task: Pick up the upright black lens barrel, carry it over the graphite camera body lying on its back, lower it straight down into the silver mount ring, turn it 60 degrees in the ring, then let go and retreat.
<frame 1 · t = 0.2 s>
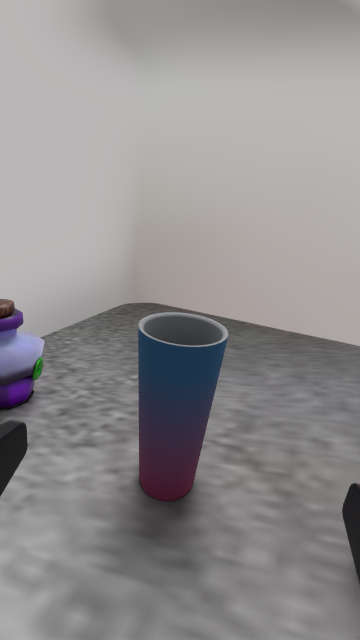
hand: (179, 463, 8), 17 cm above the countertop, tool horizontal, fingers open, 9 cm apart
cup: (166, 478, 28), on the countertop
potion bottle: (8, 397, 36), on the countertop
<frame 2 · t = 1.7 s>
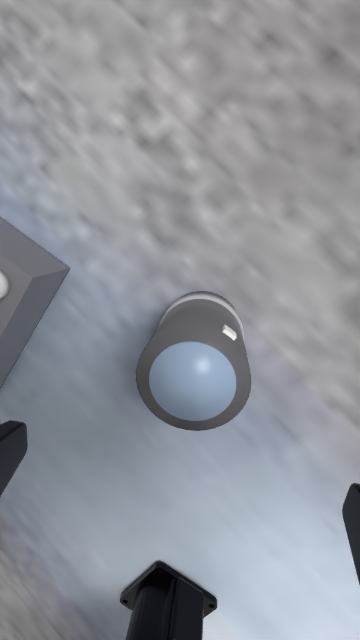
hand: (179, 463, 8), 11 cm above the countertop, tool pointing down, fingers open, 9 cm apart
lens: (202, 328, 19), on the countertop
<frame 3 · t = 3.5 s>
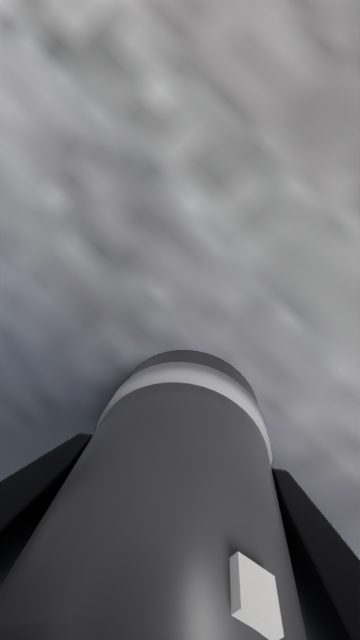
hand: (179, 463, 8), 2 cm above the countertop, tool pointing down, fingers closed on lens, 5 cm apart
lens: (187, 414, 10), on the countertop, touching gripper
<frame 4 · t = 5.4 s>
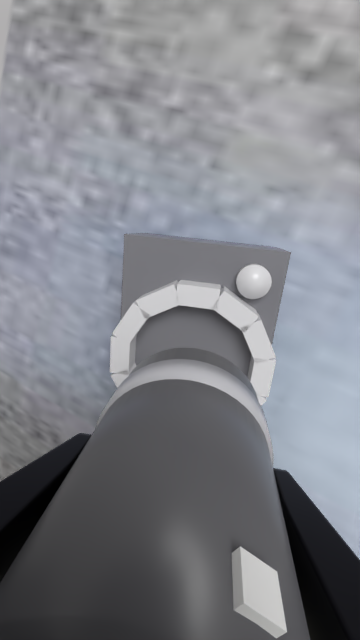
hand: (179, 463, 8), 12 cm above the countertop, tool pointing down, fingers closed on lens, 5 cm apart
lens: (188, 412, 10), point 10 cm above the countertop, touching gripper
camera body: (197, 332, 20), on the countertop
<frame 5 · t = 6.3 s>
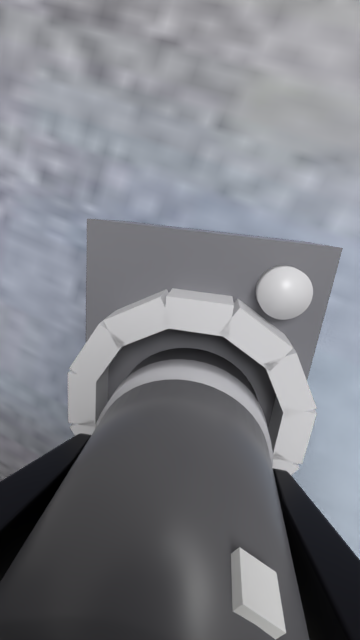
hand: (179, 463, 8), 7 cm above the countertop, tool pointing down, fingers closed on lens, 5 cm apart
lens: (187, 412, 10), point 5 cm above the countertop, touching gripper
camera body: (195, 355, 15), on the countertop
when the fingers open (6 cm above the countertop, at t = 7.2 s): lens stays where it is, resting on camera body.
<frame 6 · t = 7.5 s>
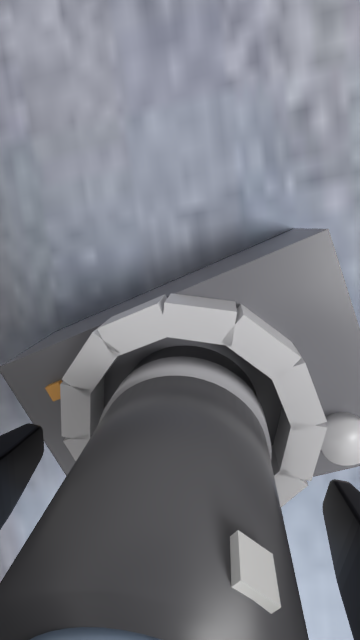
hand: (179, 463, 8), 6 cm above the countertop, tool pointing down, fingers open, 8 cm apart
lens: (188, 408, 10), point 4 cm above the countertop, touching camera body
camera body: (197, 361, 14), on the countertop
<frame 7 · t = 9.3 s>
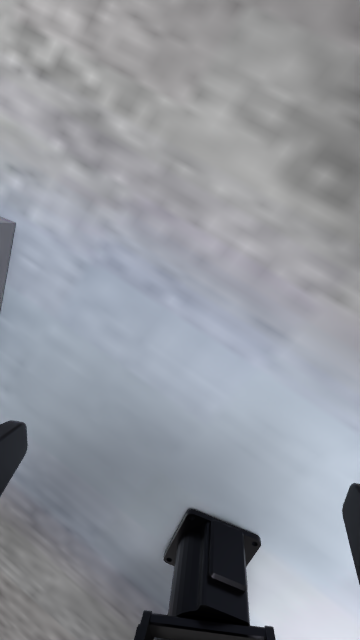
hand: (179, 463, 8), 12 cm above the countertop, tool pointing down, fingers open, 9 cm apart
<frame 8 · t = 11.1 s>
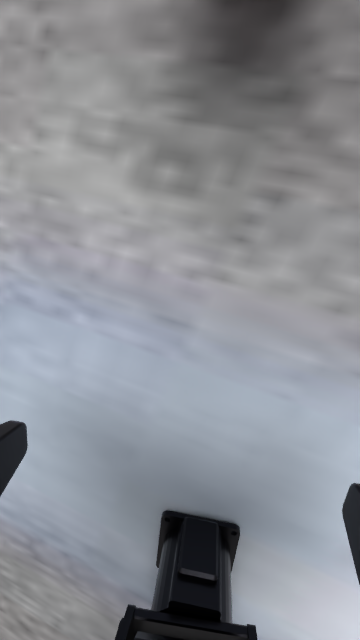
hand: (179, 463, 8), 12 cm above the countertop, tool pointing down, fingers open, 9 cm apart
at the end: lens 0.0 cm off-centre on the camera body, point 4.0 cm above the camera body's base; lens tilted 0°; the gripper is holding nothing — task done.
